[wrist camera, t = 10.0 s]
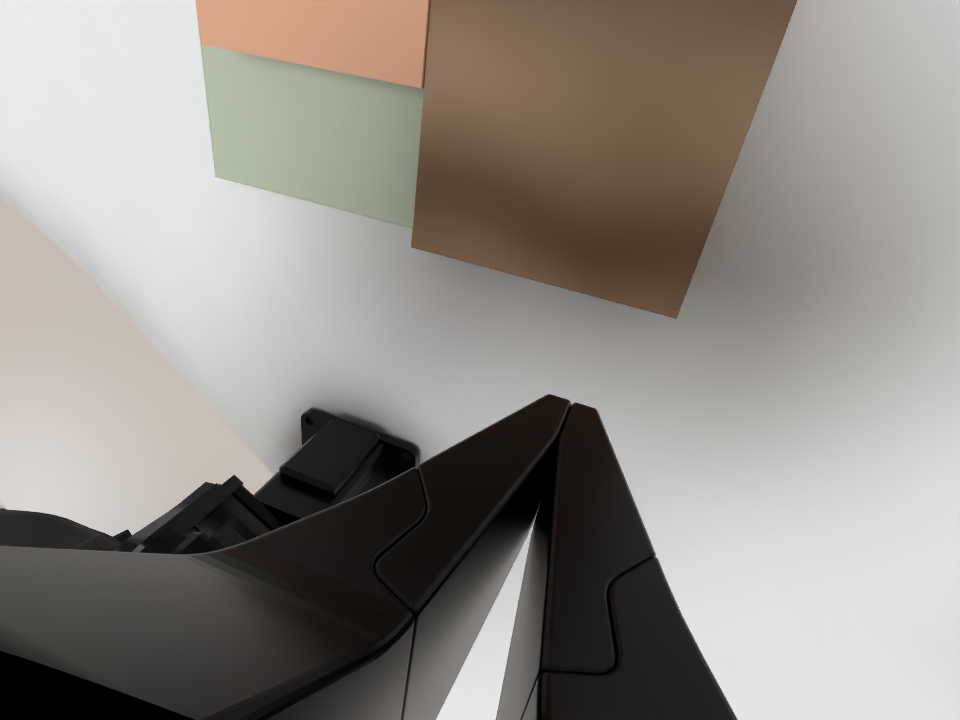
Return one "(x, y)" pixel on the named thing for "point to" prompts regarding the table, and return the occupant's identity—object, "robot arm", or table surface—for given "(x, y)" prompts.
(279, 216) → the table surface
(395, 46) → the terracotta tile
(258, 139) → the green mat
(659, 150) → the walnut stand
